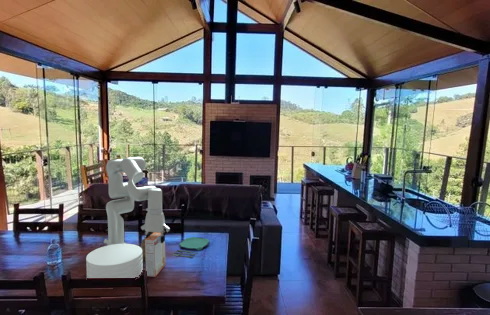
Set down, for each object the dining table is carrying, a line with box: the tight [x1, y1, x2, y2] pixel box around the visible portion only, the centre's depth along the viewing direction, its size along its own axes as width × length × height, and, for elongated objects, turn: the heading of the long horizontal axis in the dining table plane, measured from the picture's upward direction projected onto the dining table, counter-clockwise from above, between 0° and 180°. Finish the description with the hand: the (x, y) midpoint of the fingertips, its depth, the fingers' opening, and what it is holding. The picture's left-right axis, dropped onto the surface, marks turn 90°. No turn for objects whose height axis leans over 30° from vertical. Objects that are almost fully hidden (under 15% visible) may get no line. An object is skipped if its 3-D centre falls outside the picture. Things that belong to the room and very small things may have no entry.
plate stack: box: [85, 243, 144, 279], centre depth 165 cm, size 28×28×12 cm
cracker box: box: [145, 232, 166, 278], centre depth 168 cm, size 14×6×21 cm, turn 173°
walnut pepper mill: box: [140, 236, 146, 263], centre depth 182 cm, size 5×5×14 cm
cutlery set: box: [171, 236, 210, 259], centre depth 202 cm, size 20×30×2 cm, turn 163°
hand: (155, 241), depth 167 cm, fingers open, 7 cm apart
